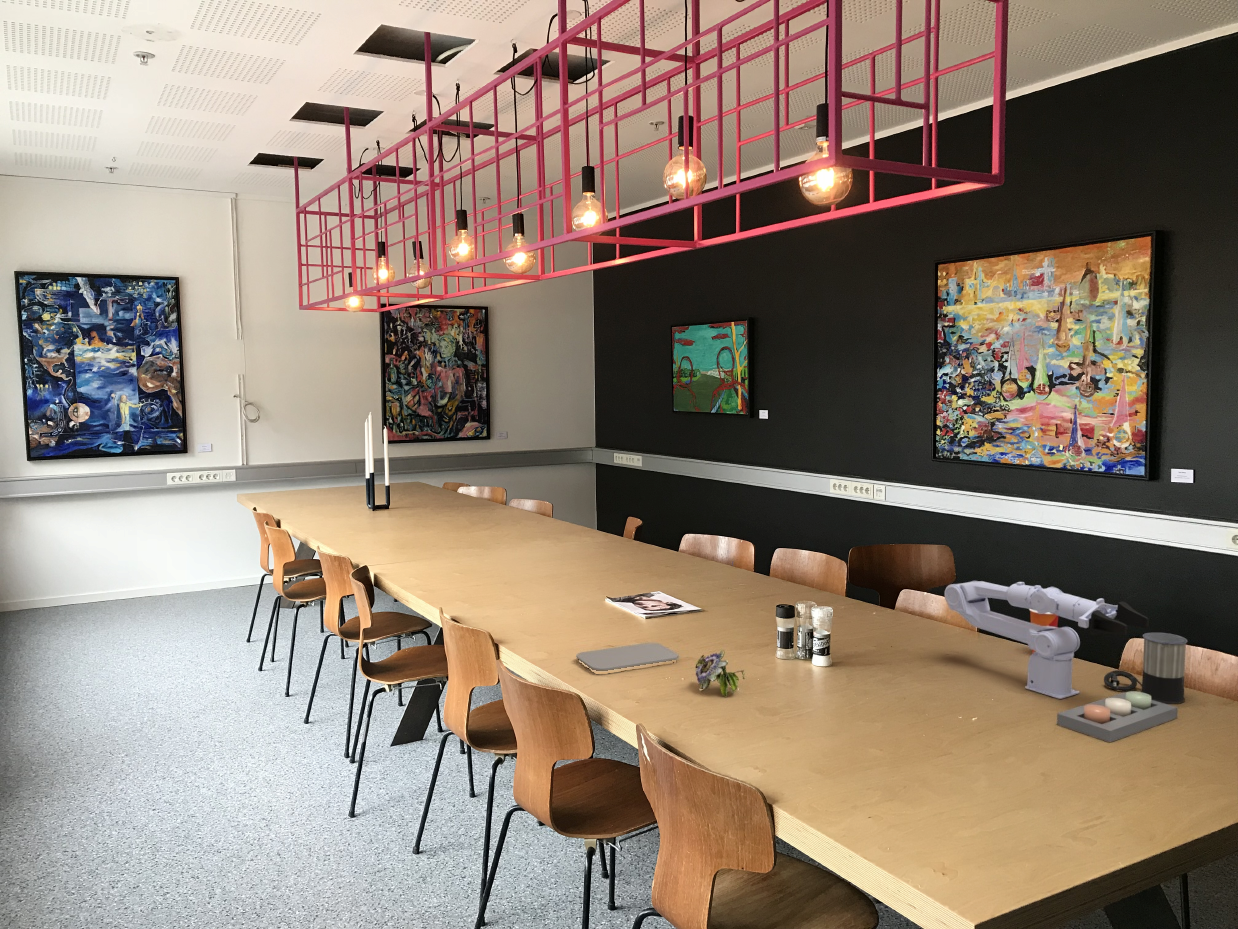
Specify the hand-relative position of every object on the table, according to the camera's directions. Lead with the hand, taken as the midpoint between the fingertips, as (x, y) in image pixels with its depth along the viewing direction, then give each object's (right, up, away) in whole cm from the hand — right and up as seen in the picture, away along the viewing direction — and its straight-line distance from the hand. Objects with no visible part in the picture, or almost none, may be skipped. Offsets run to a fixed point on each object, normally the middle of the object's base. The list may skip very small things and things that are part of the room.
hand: (1137, 626), depth 200 cm
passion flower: (-91, -20, +24) cm, 96 cm away
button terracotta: (-11, -20, -4) cm, 23 cm away
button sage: (+2, -19, +4) cm, 20 cm away
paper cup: (+2, -17, +49) cm, 52 cm away
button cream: (-4, -20, 0) cm, 20 cm away
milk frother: (+12, -20, +18) cm, 29 cm away
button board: (-4, -21, 0) cm, 22 cm away
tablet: (-113, -19, +48) cm, 124 cm away
